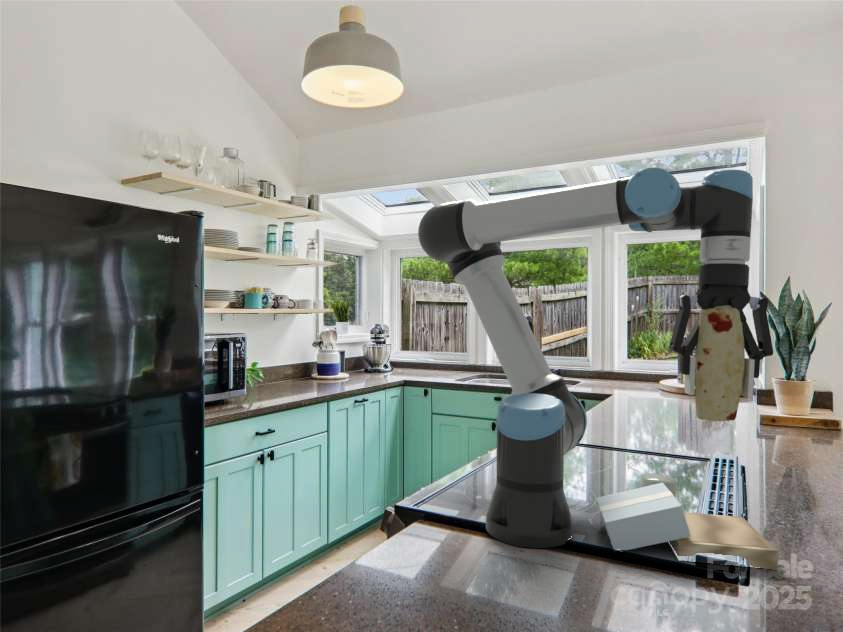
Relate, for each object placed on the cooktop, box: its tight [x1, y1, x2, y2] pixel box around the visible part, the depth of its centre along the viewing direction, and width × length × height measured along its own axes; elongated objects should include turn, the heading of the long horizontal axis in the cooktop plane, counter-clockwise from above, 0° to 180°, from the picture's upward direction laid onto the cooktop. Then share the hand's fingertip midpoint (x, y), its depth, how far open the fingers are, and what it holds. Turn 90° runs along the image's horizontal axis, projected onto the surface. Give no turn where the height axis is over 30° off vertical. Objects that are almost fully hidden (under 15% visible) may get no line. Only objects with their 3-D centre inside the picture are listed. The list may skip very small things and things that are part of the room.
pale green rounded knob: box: [639, 472, 678, 499], centre depth 106 cm, size 6×6×7 cm
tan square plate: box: [669, 511, 778, 571], centre depth 92 cm, size 14×14×3 cm
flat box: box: [595, 483, 691, 551], centre depth 94 cm, size 12×12×5 cm
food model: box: [694, 305, 746, 422], centre depth 95 cm, size 10×7×20 cm
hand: (717, 395), depth 95 cm, fingers closed on food model, 9 cm apart
